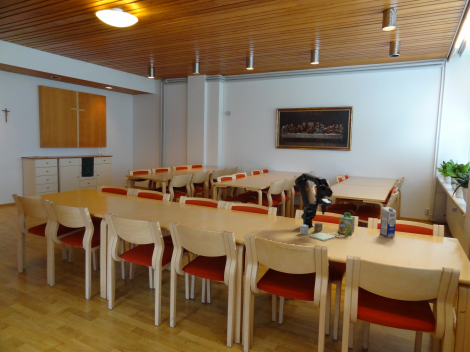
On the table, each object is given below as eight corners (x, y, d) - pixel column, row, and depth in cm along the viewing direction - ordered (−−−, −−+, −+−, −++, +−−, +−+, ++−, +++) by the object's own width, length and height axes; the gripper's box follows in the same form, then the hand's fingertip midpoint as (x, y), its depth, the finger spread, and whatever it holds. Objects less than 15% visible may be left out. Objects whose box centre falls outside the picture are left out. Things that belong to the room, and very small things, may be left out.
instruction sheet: (327, 234, 234) (327, 234, 234) (333, 232, 238) (334, 232, 238) (339, 237, 226) (339, 237, 226) (345, 236, 230) (345, 235, 230)
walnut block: (314, 231, 242) (314, 223, 241) (317, 230, 244) (318, 222, 244) (318, 232, 239) (318, 224, 238) (322, 231, 241) (322, 223, 240)
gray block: (300, 233, 236) (300, 225, 235) (303, 232, 238) (304, 224, 238) (304, 234, 233) (304, 226, 232) (308, 233, 235) (308, 225, 235)
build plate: (309, 236, 229) (309, 235, 229) (321, 233, 236) (321, 232, 236) (323, 241, 219) (323, 239, 219) (334, 237, 226) (335, 236, 226)
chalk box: (338, 233, 237) (338, 213, 235) (341, 230, 245) (342, 210, 243) (351, 235, 232) (352, 214, 230) (354, 232, 240) (355, 212, 238)
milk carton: (387, 233, 237) (389, 206, 234) (394, 236, 231) (396, 208, 228) (379, 234, 234) (381, 207, 232) (387, 237, 228) (389, 209, 225)
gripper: (320, 197, 226) (319, 219, 228) (337, 194, 237) (336, 216, 239) (308, 195, 235) (307, 216, 237) (324, 192, 246) (323, 212, 248)
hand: (319, 215), depth 240 cm, fingers open, 9 cm apart
